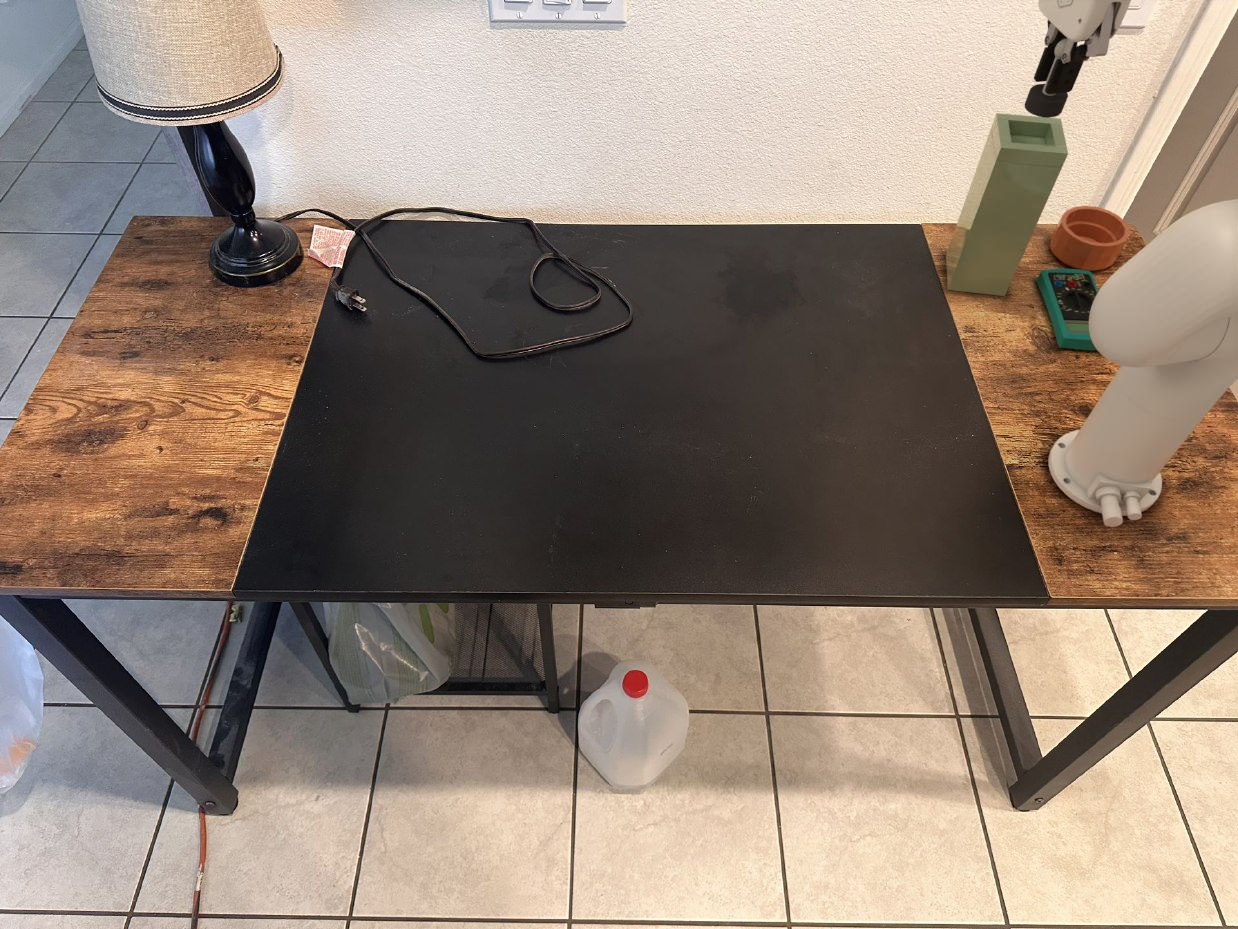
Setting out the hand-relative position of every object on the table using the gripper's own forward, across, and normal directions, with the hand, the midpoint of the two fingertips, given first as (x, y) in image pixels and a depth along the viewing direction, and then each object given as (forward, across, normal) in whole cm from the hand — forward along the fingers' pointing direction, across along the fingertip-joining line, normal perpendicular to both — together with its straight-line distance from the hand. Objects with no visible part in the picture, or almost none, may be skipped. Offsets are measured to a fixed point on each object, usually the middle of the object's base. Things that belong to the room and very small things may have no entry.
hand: (1052, 84), depth 103 cm
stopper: (+3, 0, 0) cm, 3 cm away
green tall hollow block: (+29, -1, 0) cm, 29 cm away
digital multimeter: (+30, +10, +10) cm, 33 cm away
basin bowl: (+29, -3, +18) cm, 35 cm away
